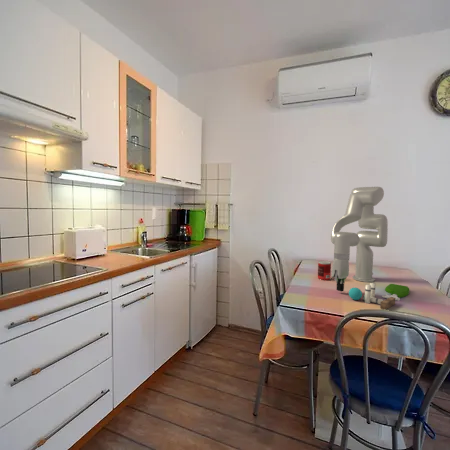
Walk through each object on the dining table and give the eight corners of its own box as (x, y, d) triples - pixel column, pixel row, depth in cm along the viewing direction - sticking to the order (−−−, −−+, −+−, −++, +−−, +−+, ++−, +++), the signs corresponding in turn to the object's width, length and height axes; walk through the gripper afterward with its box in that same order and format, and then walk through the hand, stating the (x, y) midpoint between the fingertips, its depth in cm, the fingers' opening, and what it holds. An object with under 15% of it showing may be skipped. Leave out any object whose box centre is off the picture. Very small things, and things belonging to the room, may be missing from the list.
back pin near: (365, 301, 127) (366, 284, 126) (371, 302, 125) (372, 285, 124) (363, 302, 125) (364, 284, 125) (369, 303, 123) (369, 286, 123)
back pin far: (370, 299, 130) (371, 282, 130) (375, 300, 128) (376, 283, 128) (368, 300, 128) (369, 283, 128) (373, 301, 127) (374, 284, 126)
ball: (367, 294, 125) (361, 297, 131) (358, 284, 128) (353, 286, 133) (357, 300, 124) (352, 303, 130) (349, 290, 127) (344, 292, 132)
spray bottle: (410, 292, 144) (404, 304, 126) (387, 287, 152) (378, 298, 133) (411, 286, 144) (404, 298, 126) (388, 282, 151) (378, 293, 133)
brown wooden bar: (390, 302, 125) (390, 296, 125) (395, 304, 123) (395, 297, 123) (380, 308, 117) (380, 302, 117) (385, 309, 116) (385, 303, 116)
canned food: (331, 278, 169) (331, 261, 168) (329, 281, 162) (329, 263, 161) (318, 276, 173) (319, 260, 172) (316, 279, 166) (317, 262, 165)
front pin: (365, 294, 129) (383, 298, 123) (365, 298, 130) (384, 303, 123) (362, 296, 128) (381, 300, 121) (363, 300, 128) (382, 305, 121)
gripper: (341, 254, 145) (340, 286, 146) (327, 256, 135) (326, 291, 137) (355, 256, 139) (353, 289, 140) (341, 259, 130) (339, 295, 131)
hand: (340, 290), depth 138 cm, fingers closed
